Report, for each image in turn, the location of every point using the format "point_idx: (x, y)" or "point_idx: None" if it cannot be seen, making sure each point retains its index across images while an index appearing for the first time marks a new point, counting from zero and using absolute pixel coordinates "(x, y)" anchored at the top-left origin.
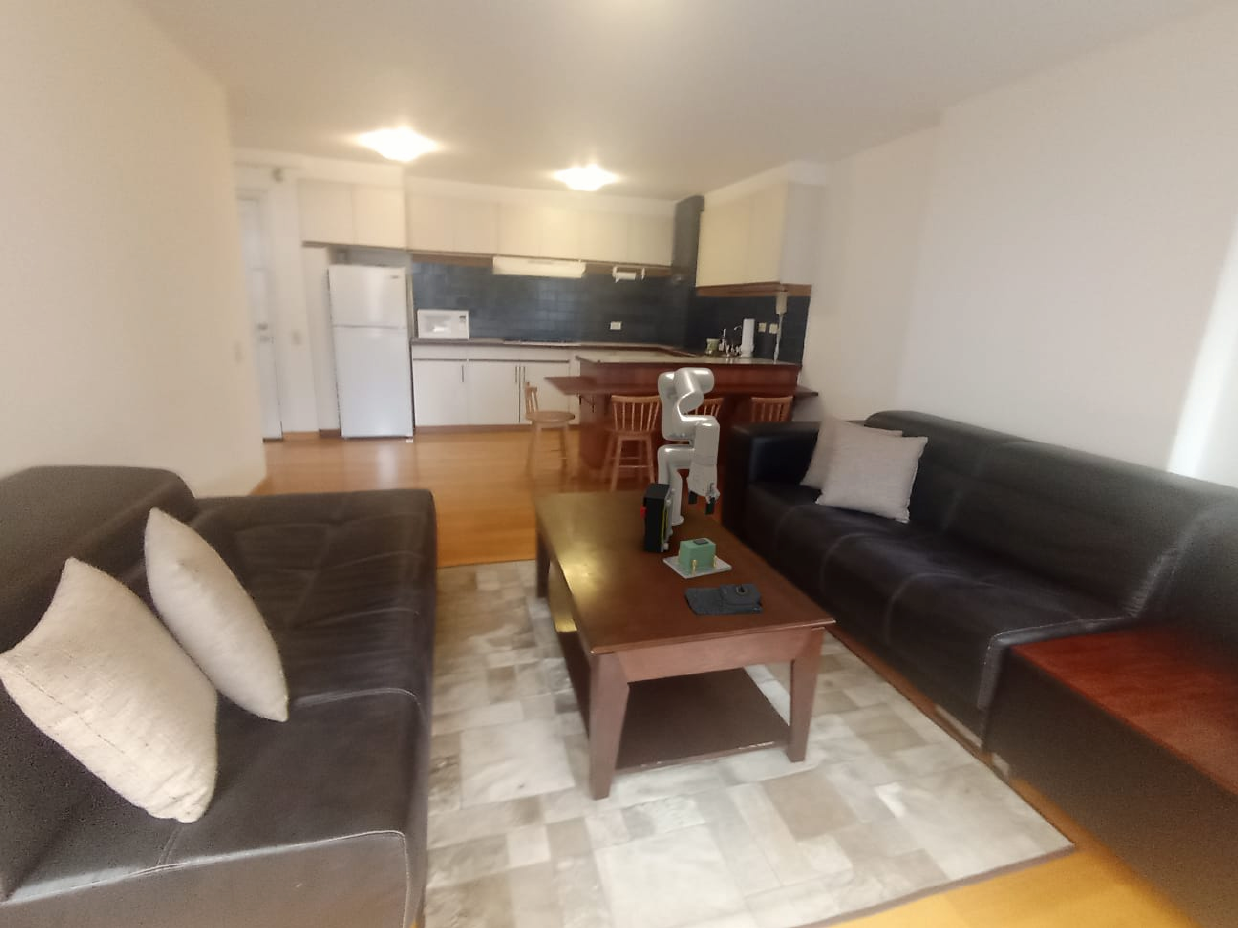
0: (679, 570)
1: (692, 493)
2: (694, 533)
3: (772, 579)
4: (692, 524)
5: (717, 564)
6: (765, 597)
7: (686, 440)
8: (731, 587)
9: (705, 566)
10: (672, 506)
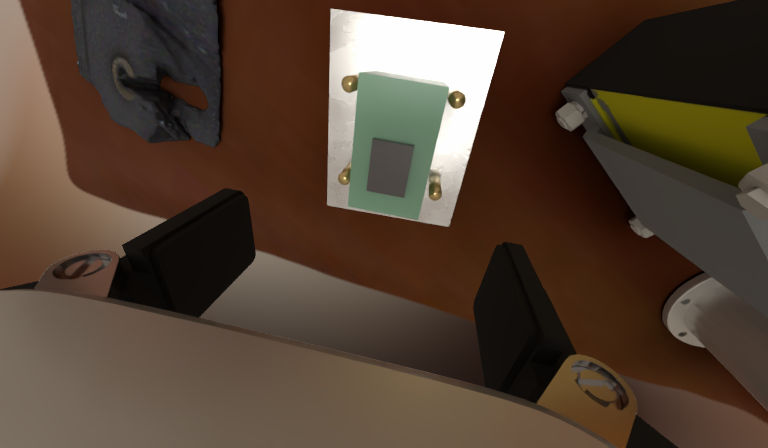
0: (379, 18)
1: (523, 365)
2: (577, 292)
3: None
4: (626, 330)
5: None
6: (167, 155)
7: None
8: (131, 52)
9: None
10: (742, 296)
